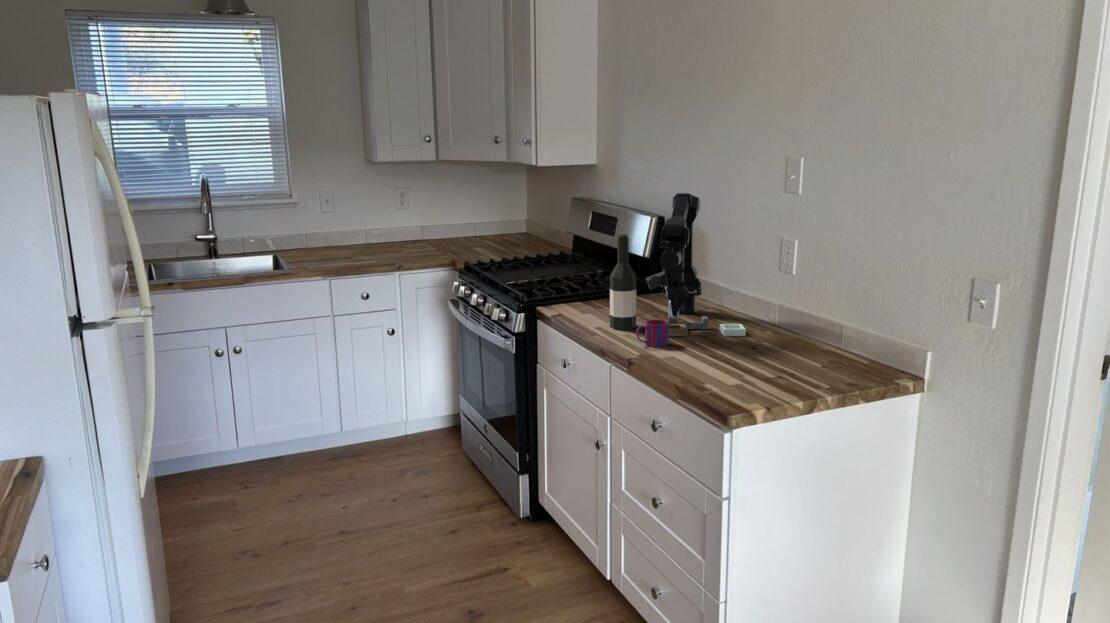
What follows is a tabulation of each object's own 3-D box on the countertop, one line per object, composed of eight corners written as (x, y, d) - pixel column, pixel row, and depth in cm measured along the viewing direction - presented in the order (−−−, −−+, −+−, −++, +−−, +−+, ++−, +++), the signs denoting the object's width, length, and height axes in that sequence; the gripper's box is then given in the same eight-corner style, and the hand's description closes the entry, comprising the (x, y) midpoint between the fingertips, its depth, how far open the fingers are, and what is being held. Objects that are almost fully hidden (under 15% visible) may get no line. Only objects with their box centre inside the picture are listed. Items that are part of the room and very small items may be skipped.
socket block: (657, 327, 260) (657, 321, 259) (683, 326, 260) (683, 320, 259) (661, 336, 249) (661, 330, 249) (688, 336, 249) (688, 329, 249)
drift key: (670, 327, 259) (670, 317, 258) (706, 326, 258) (706, 316, 258) (671, 329, 256) (671, 319, 255) (708, 329, 256) (708, 318, 255)
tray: (719, 330, 254) (719, 324, 254) (740, 330, 254) (741, 323, 254) (723, 336, 248) (723, 329, 248) (745, 335, 248) (745, 329, 247)
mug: (671, 346, 239) (672, 323, 237) (639, 349, 236) (639, 326, 235) (663, 340, 245) (663, 318, 243) (631, 343, 242) (631, 321, 241)
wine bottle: (636, 323, 265) (636, 231, 258) (636, 330, 257) (636, 235, 250) (610, 323, 265) (610, 232, 258) (609, 330, 257) (609, 235, 250)
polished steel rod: (667, 321, 253) (667, 299, 252) (678, 321, 253) (678, 299, 251) (668, 324, 250) (669, 301, 248) (679, 323, 250) (679, 301, 248)
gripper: (644, 259, 257) (644, 307, 260) (650, 270, 238) (650, 322, 242) (680, 259, 256) (679, 307, 260) (689, 270, 238) (688, 321, 242)
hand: (673, 314), depth 251 cm, fingers closed on polished steel rod, 3 cm apart
